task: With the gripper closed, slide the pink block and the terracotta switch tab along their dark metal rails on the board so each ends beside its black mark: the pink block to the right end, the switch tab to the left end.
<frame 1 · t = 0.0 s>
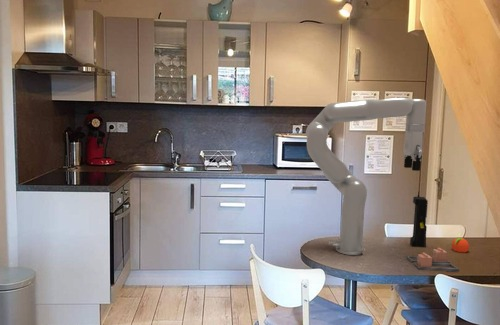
hand: (411, 169, 191), 37 cm above the table, tool pointing down, fingers open, 9 cm apart
tab far: (439, 255, 181), point 4 cm above the table, slide at 9.0 cm
portable radio: (418, 247, 206), on the table
pink block: (424, 260, 173), point 4 cm above the table, slide at 0.0 cm
clementine: (458, 254, 198), on the table
switch board: (431, 267, 178), on the table
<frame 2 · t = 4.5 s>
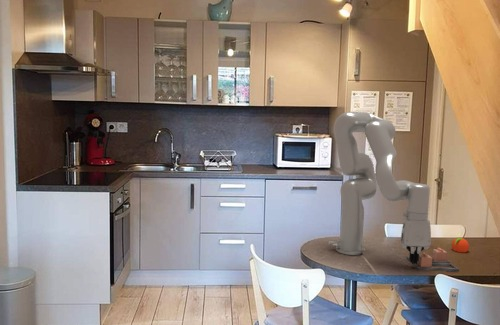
hand: (413, 262, 173), 3 cm above the table, tool pointing down, fingers closed
pink block: (424, 260, 173), point 4 cm above the table, slide at 0.0 cm, touching gripper
everything else where it was.
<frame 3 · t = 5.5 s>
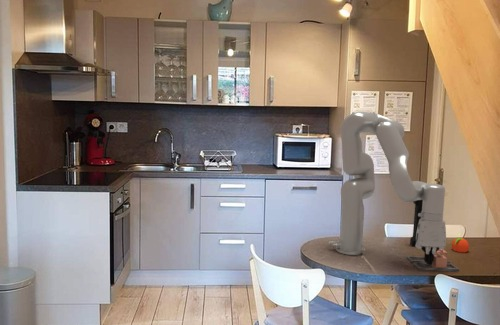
hand: (428, 263, 173), 3 cm above the table, tool pointing down, fingers closed
pink block: (439, 261, 173), point 4 cm above the table, slide at 5.7 cm, touching gripper
everything else where it was.
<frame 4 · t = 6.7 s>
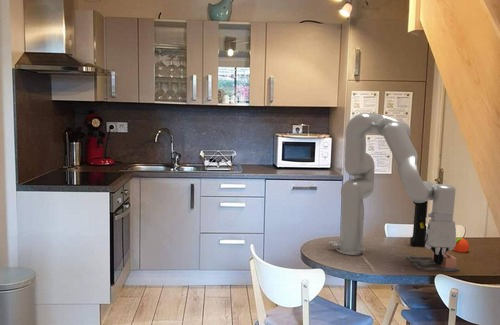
hand: (437, 263, 173), 3 cm above the table, tool pointing down, fingers closed
pink block: (448, 261, 173), point 4 cm above the table, slide at 9.3 cm, touching gripper, switch board
everything else where it was.
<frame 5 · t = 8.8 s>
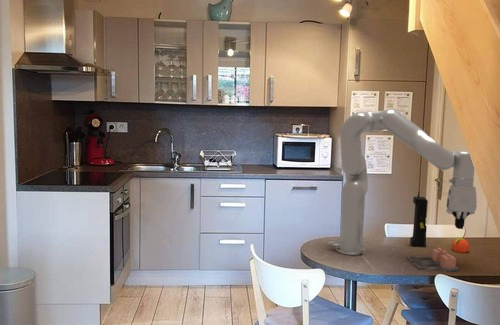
hand: (459, 228, 179), 16 cm above the table, tool pointing down, fingers closed
pink block: (448, 261, 173), point 4 cm above the table, slide at 9.0 cm
everything else where it was.
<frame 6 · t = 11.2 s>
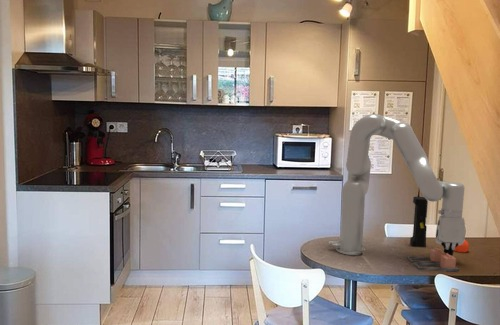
hand: (447, 258, 181), 3 cm above the table, tool pointing down, fingers closed
tab far: (437, 255, 181), point 4 cm above the table, slide at 8.1 cm, touching gripper
everything else where it was.
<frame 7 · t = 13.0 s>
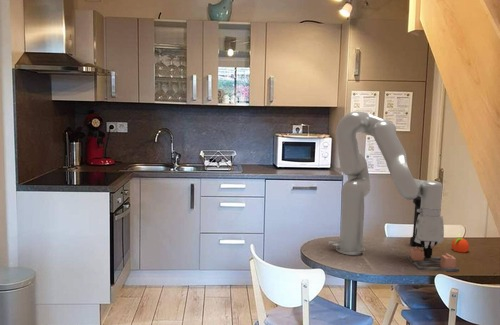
hand: (427, 257, 181), 3 cm above the table, tool pointing down, fingers closed
tab far: (417, 254, 181), point 4 cm above the table, slide at -0.1 cm, touching gripper
everything else where it was.
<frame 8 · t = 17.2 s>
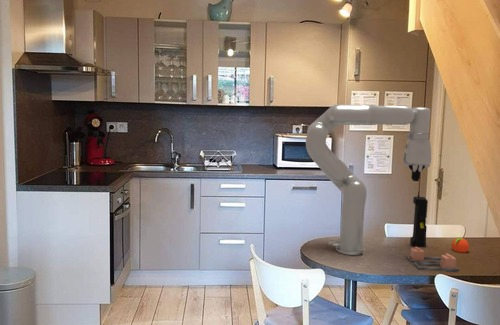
hand: (415, 180, 190), 32 cm above the table, tool pointing down, fingers closed
tab far: (417, 254, 181), point 4 cm above the table, slide at 0.0 cm
everything else where it was.
at the end: pink block slide at 9.0 cm; tab far slide at 0.0 cm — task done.
